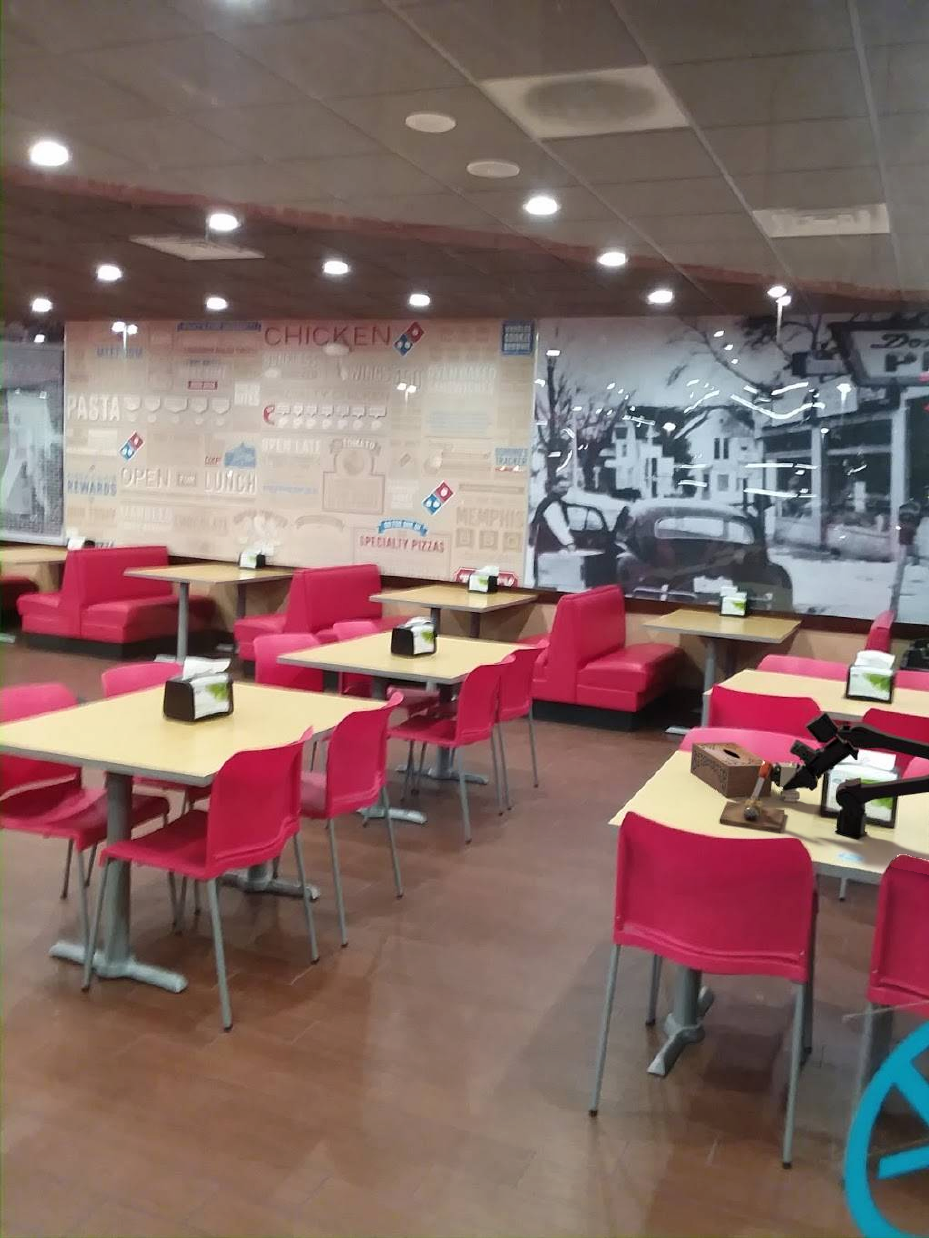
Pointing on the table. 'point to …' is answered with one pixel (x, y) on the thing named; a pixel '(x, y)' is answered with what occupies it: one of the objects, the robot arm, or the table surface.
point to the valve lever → (762, 777)
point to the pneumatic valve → (785, 780)
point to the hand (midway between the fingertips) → (783, 788)
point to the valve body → (752, 809)
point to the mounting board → (767, 821)
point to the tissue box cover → (728, 769)
